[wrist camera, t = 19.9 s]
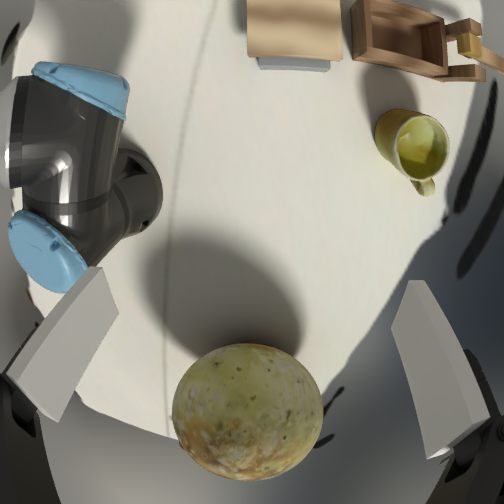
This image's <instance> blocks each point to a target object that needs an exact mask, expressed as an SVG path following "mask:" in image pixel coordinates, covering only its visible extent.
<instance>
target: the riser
mask: <svg viewBox="0 0 504 504" xmlns="http://www.w3.org/2000/svg"><path fill="white" fill-rule="evenodd" d="M258 60H259V67H260V69H261V70H301V71H316V72H327V71H328V70H329V69H330V60H320V59H308V58H289V57H258Z"/></svg>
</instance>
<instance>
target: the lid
mask: <svg viewBox="0 0 504 504" xmlns="http://www.w3.org/2000/svg"><path fill="white" fill-rule="evenodd" d="M247 55H248V56H249V57H289V58H308V59H320V60H330V61H338V62H339V61H341V60H342V59H343V49H342V26H341V10H340V0H247Z"/></svg>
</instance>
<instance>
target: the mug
mask: <svg viewBox="0 0 504 504" xmlns="http://www.w3.org/2000/svg"><path fill="white" fill-rule="evenodd" d="M375 141H376V145H377V148H378V150H379V152H380V153H381V155H382V156H383V157H384V158H385V159H386V160H388V161H389V162H391V163H392V164H393V165H394V166H395V167H396V169H397V170H399V171H400V172H401V173H402V174H403V175H405V176H406V177H407V178H409V179H410V181H411V182H412V184H413V186H414V187H415V188H416V190H417V191H418V193H419V194H420V195H422V196H431V195H433V194H434V191H435V184H434V181H433V180H432V177H434V176H435V175H437V174H439V172H440V171H441V170H442V169H443V167H444V166H445V164H446V162H447V160H448V156H449V138H448V135H447V132H446V130H445V129H444V128H443V126H442V125H441V124H440V123H439V122H438V121H437V120H436V119H435V118H433V117H431V116H429V115H425V114H422V113H419V112H414V111H408V110H403V109H394V110H391V111H388V112H387V113H385V114H384V115H383V116H382V117H381V118H380V119H379V121H378V123H377V125H376V128H375Z"/></svg>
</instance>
